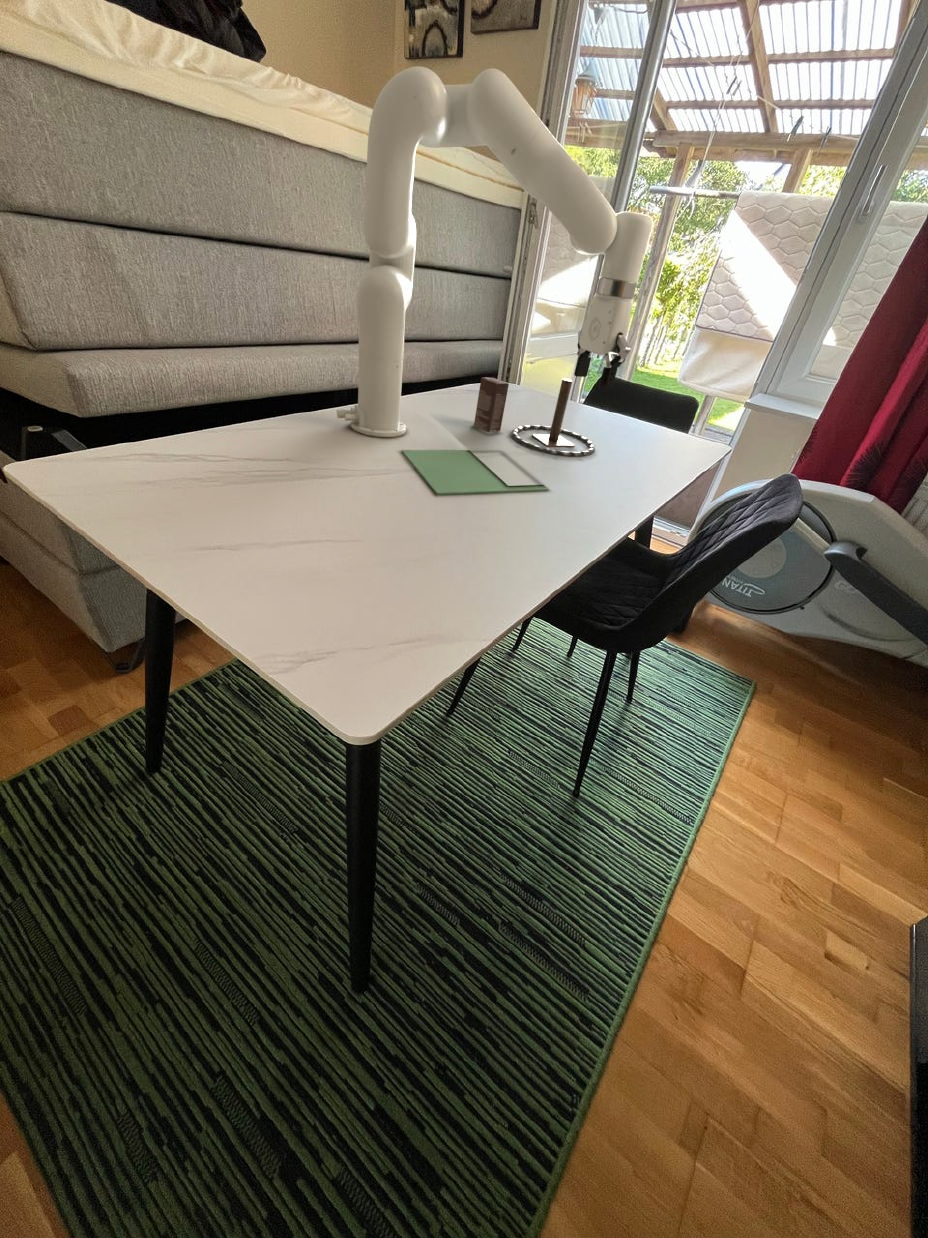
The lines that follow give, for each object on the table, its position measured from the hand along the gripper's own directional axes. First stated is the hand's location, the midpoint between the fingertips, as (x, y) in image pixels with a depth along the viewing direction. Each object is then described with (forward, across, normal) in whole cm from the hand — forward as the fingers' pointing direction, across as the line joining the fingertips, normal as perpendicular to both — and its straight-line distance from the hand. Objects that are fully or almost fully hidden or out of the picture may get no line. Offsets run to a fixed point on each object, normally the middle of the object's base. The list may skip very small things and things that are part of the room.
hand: (592, 381), depth 113 cm
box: (+17, -19, -14) cm, 29 cm away
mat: (+17, +7, -30) cm, 35 cm away
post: (+17, -9, 0) cm, 19 cm away
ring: (+16, -9, 0) cm, 19 cm away
